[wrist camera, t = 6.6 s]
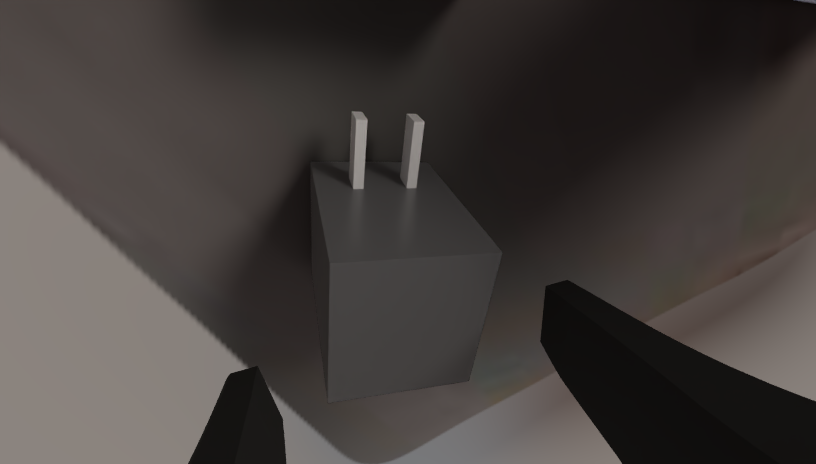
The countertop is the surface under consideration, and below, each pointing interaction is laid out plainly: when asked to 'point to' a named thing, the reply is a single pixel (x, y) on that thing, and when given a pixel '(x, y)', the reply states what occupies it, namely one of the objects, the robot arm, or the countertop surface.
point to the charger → (395, 272)
